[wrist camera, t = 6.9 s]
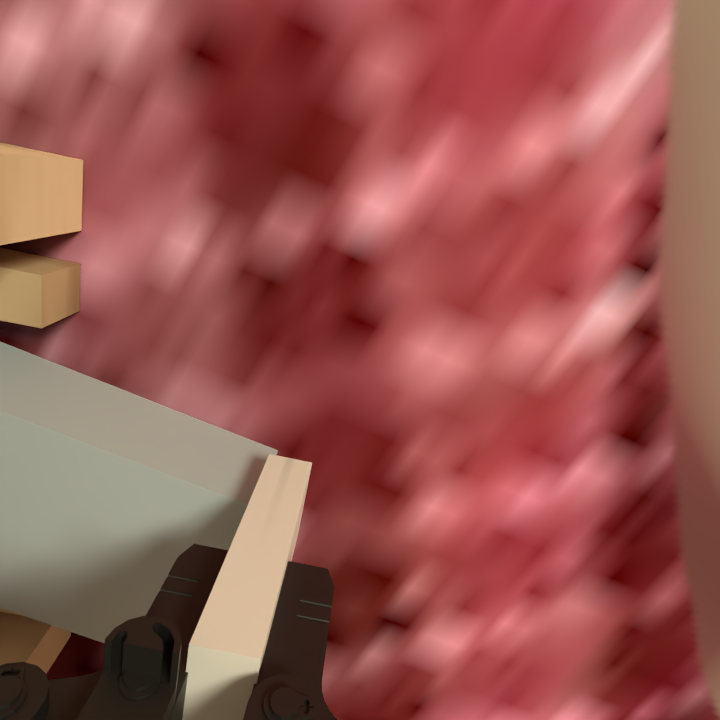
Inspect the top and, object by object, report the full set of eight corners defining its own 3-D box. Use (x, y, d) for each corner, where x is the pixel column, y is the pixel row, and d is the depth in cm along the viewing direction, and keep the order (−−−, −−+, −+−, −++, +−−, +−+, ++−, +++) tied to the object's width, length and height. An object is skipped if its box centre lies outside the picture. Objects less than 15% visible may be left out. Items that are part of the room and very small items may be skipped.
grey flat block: (-164, 462, 18) (-265, 517, 15) (-155, 280, 16) (-273, 307, 13) (215, 598, 19) (186, 671, 17) (277, 450, 17) (256, 507, 14)
